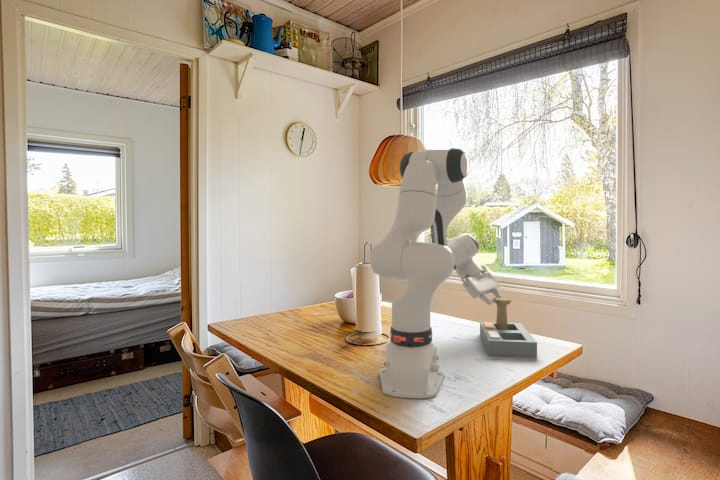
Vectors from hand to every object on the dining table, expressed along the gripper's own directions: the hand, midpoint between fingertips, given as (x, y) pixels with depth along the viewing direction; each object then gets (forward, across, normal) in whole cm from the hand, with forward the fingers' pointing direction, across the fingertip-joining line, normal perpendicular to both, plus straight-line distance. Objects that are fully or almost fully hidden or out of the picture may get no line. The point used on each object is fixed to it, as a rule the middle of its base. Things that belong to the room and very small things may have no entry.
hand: (496, 301), depth 150 cm
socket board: (+14, -5, +5) cm, 16 cm away
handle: (+11, +2, +9) cm, 14 cm away
